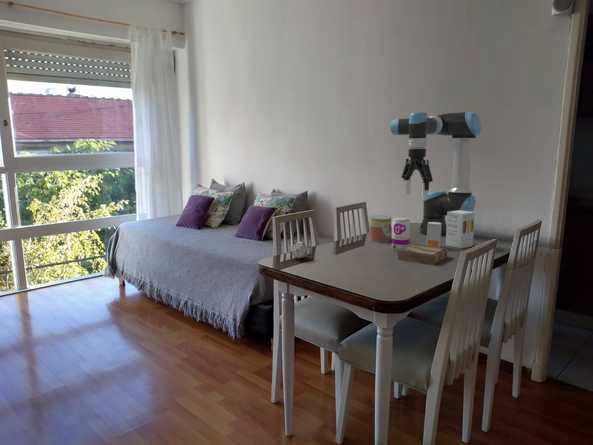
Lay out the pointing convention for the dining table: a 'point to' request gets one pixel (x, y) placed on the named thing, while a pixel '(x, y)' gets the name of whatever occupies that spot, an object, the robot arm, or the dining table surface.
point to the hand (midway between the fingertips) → (415, 195)
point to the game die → (299, 250)
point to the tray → (422, 254)
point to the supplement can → (400, 233)
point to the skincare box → (434, 234)
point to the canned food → (380, 228)
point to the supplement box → (460, 228)
